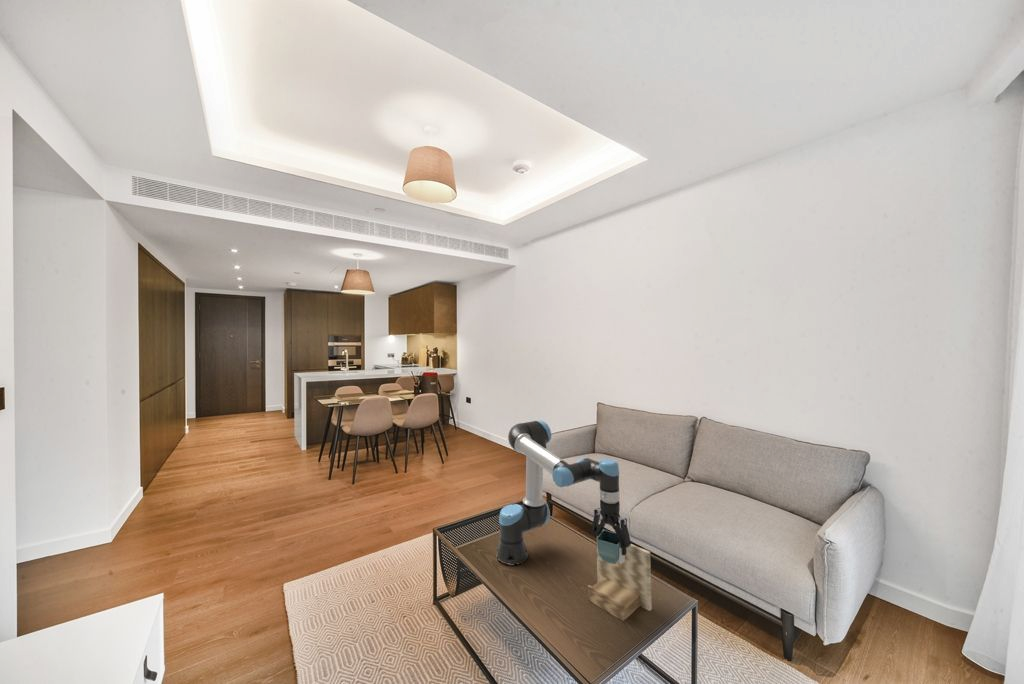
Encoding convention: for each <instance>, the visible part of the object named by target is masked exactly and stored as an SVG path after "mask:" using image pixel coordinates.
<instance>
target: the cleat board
mask: <svg viewBox="0 0 1024 684" xmlns="http://www.w3.org/2000/svg"><path fill="white" fill-rule="evenodd" d="M626 552H627V553H626V555H625V562H623V563H622V564H620V563H619V559H618V560H617V562H616V564H613V563H610V562H606V561H603V560H602V558H601V557H600V555H599V553H597V552H596V576H597V577H596V580H597V583H595V584H593V585H590V584H588V585H587V601H589V602H591V603H592V604H594V605H596V606H598V607H599V608H600V609H602V610H604V611H606V612H607V613H609V614H611V615H612V616H614V617H615V618H617V619H619V620H620V621H622V622H625V620H627V619H628V618H629V617H630V616H631V615H632V614H633V613H634V612H635V611H636V610H638V609H639V607H641V608H643V609H645V610H647V611H649V612H651V611H652V608H653V607H652V575H651V574H652V573H651V571H652V570H651V569H652V568H651V567H652V566H651V564H652V563H651V551H649V550H647V549H644V548H642V547H639V546H637V545H635V544H632V543H631V545H630V546H629V547H626Z"/></svg>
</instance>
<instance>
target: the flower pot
mask: <svg viewBox="0 0 1024 684" xmlns="http://www.w3.org/2000/svg"><path fill="white" fill-rule="evenodd" d="M596 541H597V543H596V549H597V548H598V552H599V555H600V557H601V558H602V560H603V561H606V562H610V563H613V564H616V562H617V560H618V559H619V546H620V542H619V540H618V537H617V535H616V532H615V531H614V532H613V531H609V530H606V529H603V530H602V532H601V533H600V535H599V536H598V537H597V539H596V538H595V542H596Z"/></svg>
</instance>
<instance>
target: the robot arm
mask: <svg viewBox="0 0 1024 684" xmlns="http://www.w3.org/2000/svg"><path fill="white" fill-rule="evenodd" d="M507 438H508V439H507V440H508V443H509V445H510V447H511V448H512V449H513V450H514V451H515V452H517V453H518V454H523V455H524V456H526V457H525V459H526V461H525V463H526V464H525V497H523V499H522V505H520V504H518V503H514V504H507V505H506V506H504V507H503V508H501V510H499V511H500V512H499V518H498V522H499V542H498V545H497V546H498V548H497V550H496V558H497V557H498V559H500V560H501V561H503V562H505V563H510V564H517V563H521V562H523V561H524V560H525V559H526V558H527V559H528V549H527V547H526V543H525V539H524V533H526V532H529V531H532V530H534V529H537V528H541V527H542V526H545V525H546V524H547V523H548V522H549V521H550V516H551V512H550V510H551V509H550V508H549V505H548V502H547V501H546V499H545V498H544V497H543V488H544V486H543V482H544V481H543V480H544V477H543V476H544V470H545V471H546V472H547V473H549V475H550V474H551V476H552V480H553V482H554V484H555V485H556V486H557V487H559V488H565V487H570V486H572V485H575V484H579V483H582V482H585V481H586V482H587V481H589V480H592V481H594V482H599V505H600V506H599V507H597V508H595V509H594V510H593V513H594V515H593V521H592V524H591V525H592V526H591V529H590V530H591V533H593V534H594V536H595V543H596V544H597V541H596V539H597V537H598V536H599V535H600V533H601V532H602V531H603V530H604V529H605V526H606V524H607V525H610V526H612V529H614V533H616V535H617V537H618V540H619V542H620V546H619V563H620V564H622V563H623V562H625V555H626V553H627V552H626V547H629V546H630V545H631V544H632V541H631V537H630V533H629V529H628V519H627V518H626V517H624V518H623V517H621V515H620V507H621V506H620V505H621V503H620V469H619V463H618V461H617V460H615V459H609V458H604V459H600V460H599V461H597V460H593V459H591V458H589V457H580V458H579V459H578V460H576V462H574V463H568V462H566V461H565V460H563V459H562V458H561V457H559V456H558V455H556V454H554V453H553V452H551V451H550V450H548V449H547V444H548V443H549V442H550V441H551V440H552V431H551V428H550V426H549V425H548V424H547V422H545V421H544V420H533V421H526V422H520V423H516V424H515V425H513V426H512V427H511V428H510V430H509V432H508V436H507ZM601 517H602V518H601ZM600 518H601V519H600ZM599 522H600V523H599ZM597 553H599V552H598V548H597V547H596V554H597ZM523 563H524V562H523ZM521 564H522V563H521Z"/></svg>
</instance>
